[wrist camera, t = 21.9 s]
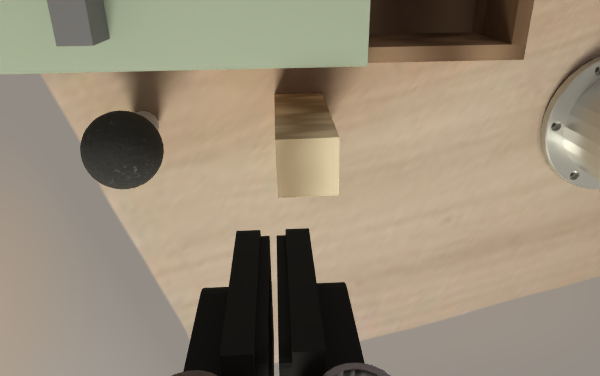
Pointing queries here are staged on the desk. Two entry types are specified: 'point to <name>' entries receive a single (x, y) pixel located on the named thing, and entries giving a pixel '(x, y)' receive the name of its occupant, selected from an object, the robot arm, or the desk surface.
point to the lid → (181, 35)
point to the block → (305, 146)
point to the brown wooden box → (448, 30)
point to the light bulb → (122, 148)
